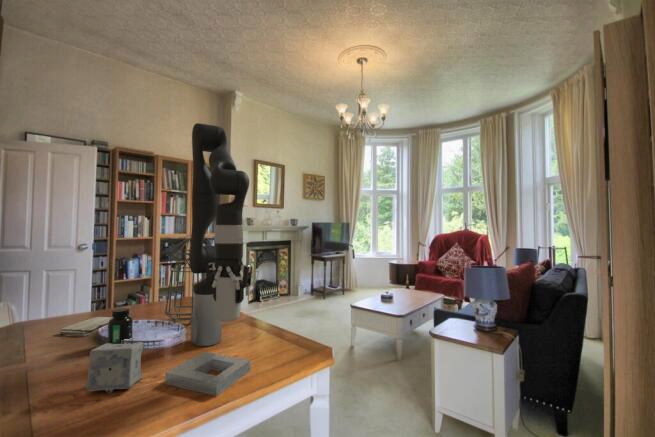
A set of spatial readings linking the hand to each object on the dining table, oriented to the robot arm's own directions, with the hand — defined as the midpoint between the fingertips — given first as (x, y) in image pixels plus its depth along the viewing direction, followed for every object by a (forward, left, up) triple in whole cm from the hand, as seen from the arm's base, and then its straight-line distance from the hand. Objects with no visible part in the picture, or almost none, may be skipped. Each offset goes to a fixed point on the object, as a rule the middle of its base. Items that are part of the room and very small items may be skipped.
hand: (228, 301), depth 87 cm
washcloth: (-72, +11, -20) cm, 76 cm away
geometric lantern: (-44, +31, -20) cm, 58 cm away
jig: (-3, -4, -20) cm, 20 cm away
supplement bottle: (-46, +3, -20) cm, 50 cm away
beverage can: (0, 0, -5) cm, 5 cm away
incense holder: (-22, -16, -20) cm, 34 cm away
